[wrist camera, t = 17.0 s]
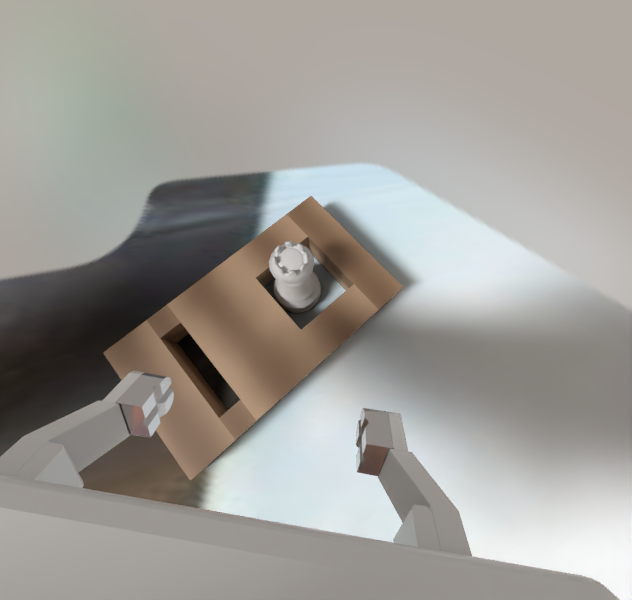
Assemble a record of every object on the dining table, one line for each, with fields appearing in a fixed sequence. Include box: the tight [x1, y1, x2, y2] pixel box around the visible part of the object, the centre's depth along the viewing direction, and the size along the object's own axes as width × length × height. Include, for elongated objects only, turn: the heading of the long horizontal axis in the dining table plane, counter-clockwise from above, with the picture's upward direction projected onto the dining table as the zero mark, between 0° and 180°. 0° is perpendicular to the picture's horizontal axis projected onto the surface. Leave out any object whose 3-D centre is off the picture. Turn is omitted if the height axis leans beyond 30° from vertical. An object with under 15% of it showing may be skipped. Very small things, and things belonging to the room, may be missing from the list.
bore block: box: [103, 196, 403, 480], centre depth 25 cm, size 22×12×3 cm, turn 132°
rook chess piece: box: [269, 241, 321, 313], centre depth 23 cm, size 4×4×8 cm
